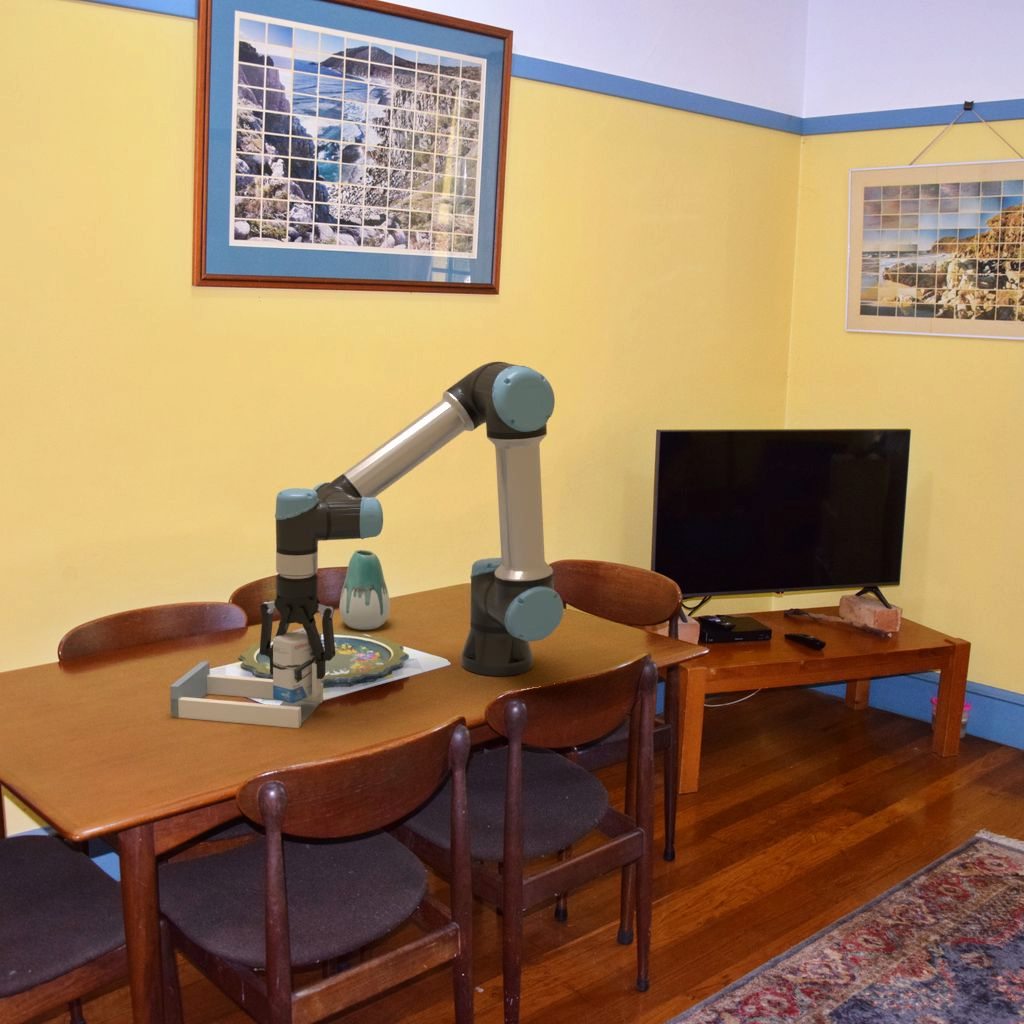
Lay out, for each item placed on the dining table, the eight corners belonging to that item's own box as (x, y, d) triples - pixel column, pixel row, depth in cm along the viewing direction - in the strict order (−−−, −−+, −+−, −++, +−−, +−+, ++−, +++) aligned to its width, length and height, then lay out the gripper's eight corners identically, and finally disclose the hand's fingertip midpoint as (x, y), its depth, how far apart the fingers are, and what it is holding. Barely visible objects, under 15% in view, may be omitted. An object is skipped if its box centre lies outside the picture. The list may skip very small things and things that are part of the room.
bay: (323, 700, 233) (323, 671, 232) (298, 728, 219) (298, 696, 218) (203, 690, 237) (202, 661, 236) (171, 716, 223) (170, 686, 222)
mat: (320, 704, 231) (320, 702, 231) (301, 724, 221) (301, 722, 221) (285, 701, 232) (285, 699, 232) (265, 721, 222) (265, 719, 222)
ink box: (292, 704, 221) (291, 642, 218) (271, 698, 223) (271, 637, 221) (322, 691, 228) (322, 631, 226) (302, 686, 231) (302, 626, 228)
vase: (399, 624, 283) (400, 550, 279) (368, 636, 273) (368, 560, 269) (361, 616, 289) (361, 543, 285) (329, 627, 279) (328, 552, 276)
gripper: (354, 572, 223) (353, 690, 228) (253, 564, 226) (255, 681, 231) (342, 582, 216) (342, 704, 221) (238, 574, 219) (240, 695, 224)
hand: (297, 692), depth 226 cm, fingers closed on ink box, 6 cm apart
